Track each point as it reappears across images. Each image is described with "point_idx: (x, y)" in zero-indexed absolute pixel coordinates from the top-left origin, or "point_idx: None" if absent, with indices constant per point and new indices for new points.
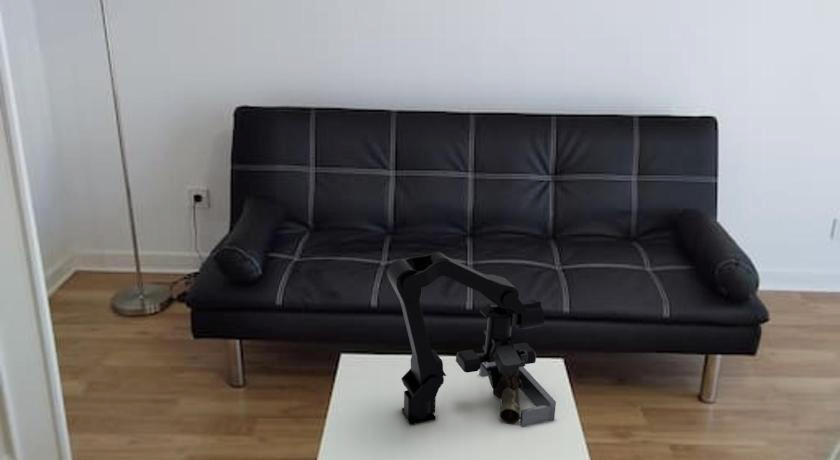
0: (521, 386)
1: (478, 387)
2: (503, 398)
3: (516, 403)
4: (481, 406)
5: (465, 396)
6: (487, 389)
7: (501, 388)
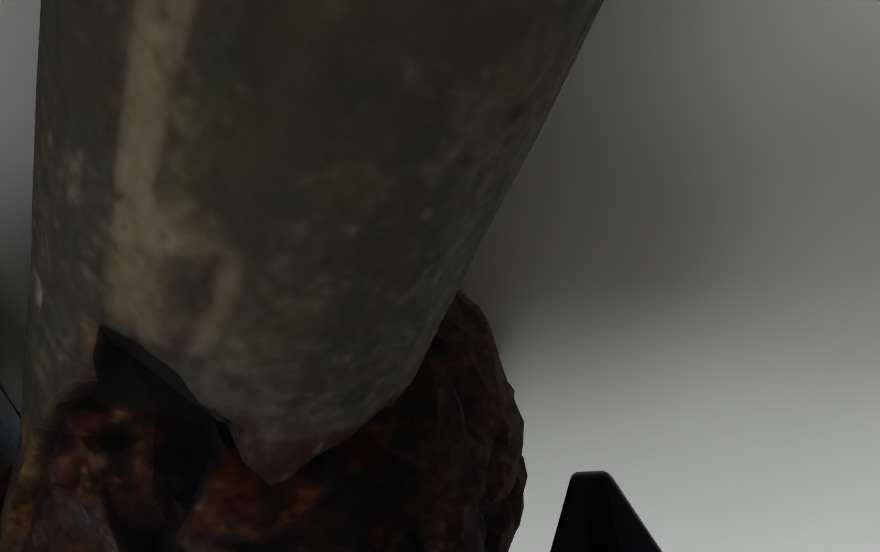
0: None
1: None
2: (536, 80)
3: None
4: (805, 187)
5: (871, 433)
6: None
7: (411, 461)
